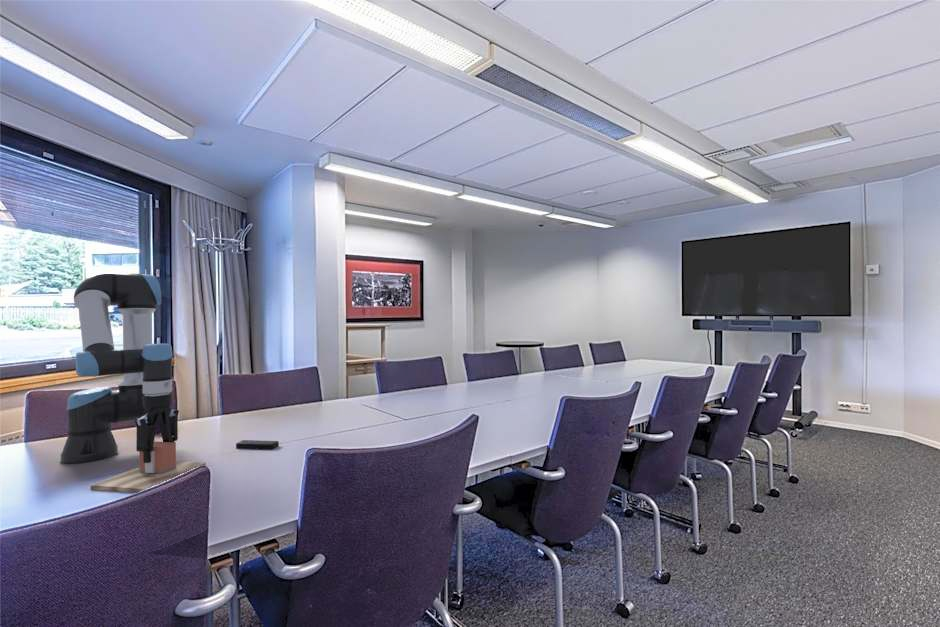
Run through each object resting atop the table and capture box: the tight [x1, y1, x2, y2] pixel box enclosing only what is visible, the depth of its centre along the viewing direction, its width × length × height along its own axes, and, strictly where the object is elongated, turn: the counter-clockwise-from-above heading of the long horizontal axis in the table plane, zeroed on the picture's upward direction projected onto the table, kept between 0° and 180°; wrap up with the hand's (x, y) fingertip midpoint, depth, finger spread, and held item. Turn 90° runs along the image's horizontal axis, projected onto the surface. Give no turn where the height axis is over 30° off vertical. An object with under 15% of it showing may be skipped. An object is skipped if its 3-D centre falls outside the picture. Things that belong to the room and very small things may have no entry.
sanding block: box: [138, 440, 177, 474], centre depth 137 cm, size 8×5×8 cm, turn 80°
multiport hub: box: [235, 439, 280, 451], centre depth 165 cm, size 4×14×2 cm, turn 83°
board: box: [90, 460, 207, 494], centre depth 135 cm, size 18×22×1 cm
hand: (158, 469), depth 137 cm, fingers closed on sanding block, 5 cm apart
